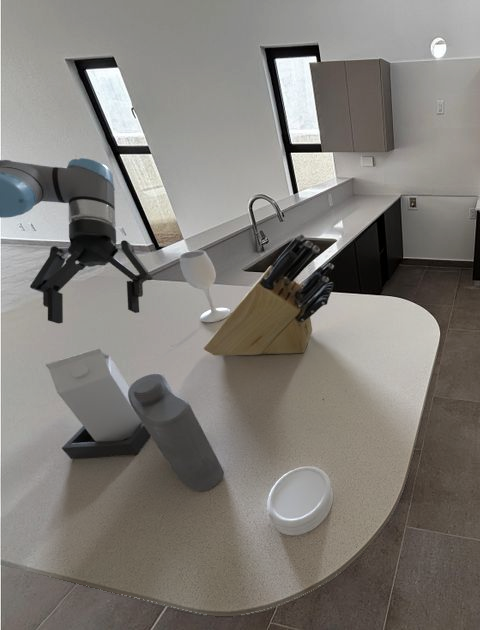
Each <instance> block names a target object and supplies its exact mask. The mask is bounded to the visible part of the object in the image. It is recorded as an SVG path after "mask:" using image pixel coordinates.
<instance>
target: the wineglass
mask: <svg viewBox="0 0 480 630" xmlns="http://www.w3.org/2000/svg"><path fill="white" fill-rule="evenodd" d="M178 259H179V265H180V269H181V273H182V275H183V277H184V280H185V281H186V283H187V284H189V285H190V286H191V287H193V288H195V289H199V290H202V291H203V292H204V294H205V296H206V299H207V301H208V305H209V310H207V311H205V312H204V313H203V314H201V315H200V318H199V320H200V321H201V322H203V323H215V322H220V321H223V320H225V319H227V318H228V317H229V316H230V314H231V310H230V309H229V308H226V307H216V306H215V304H214V301H213V299H212V297H211V294H210V288H211V287H212V286H213V285H214V284H215V281H216V280H217V279H216V278H217V273H216V269H215V267H214V263H213V262H212V260H211V258H210V256H209V255H208V253H207V252H206V251H205V250H201V249H199V250H198V249H197V250H190V251H189V250H188V251H186V252H183V253H181V254H180V255H179V258H178Z"/></svg>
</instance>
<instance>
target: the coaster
mask: <svg viewBox="0 0 480 630" xmlns="http://www.w3.org/2000/svg"><path fill="white" fill-rule="evenodd" d="M333 502H334V492H333V486H332V483H331V479H330V477H329V476H328V474H327V473H326V472H325V471H324V470H322V469H321V468H319V467H316V466H313V465H312V466H311V465H307V466H305V465H304V466H300V467H296V468H294V469H292V470H290V471H288V472H286V473H285V474H283V475H282V476H281V477H280V478H279V479H278V480H277V481H275V483H274V485H273V486H272V488H271V490H270V492H269V495H268V498H267V503H266V508H267V513H268V517H269V518H270V520H271V523H272V525H273V527H274V528H275V529H276V530H277V531H278V532H279V533H281V534H284V535H287V536H292V537H293V536H301V535H305V534H307V533H309V532H311V531H313V530H315V529H316V528H317V527H318V526H319V525H321V524H322V522H324V521H325V519H326V518H327V517H328V515H329V513H330V511H331V509H332V506H333Z"/></svg>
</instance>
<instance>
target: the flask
mask: <svg viewBox="0 0 480 630" xmlns="http://www.w3.org/2000/svg"><path fill="white" fill-rule="evenodd" d="M128 398H129V402H130V404H131V406H132V408H133V409H134V411H135V412H136V414H137V416H138V417H139V419H140V420H141V422H142V423H143V425H144V426H145V428H146V429H147V431H148V433H149V434H150V436H151V437H150V438H151V439H152V440H153V442H154V443H155V446H156V447H157V448H158V449H159V451H160V453H161V454H162V456H163V457H164V459H165V460H166V462H167V464H168V465H169V467H170V468H171V469H172V471H173V473H174V475H175V476H176V477H177V479H179V481H180V482H181V483H182V484H183V485H184V486H186V487H187V488H189V489H190V490H192V491H194V492H205V491H208V490H210V489H212V488H214V487H215V486H217V484H219V483H220V481H222V478H223V477H224V473H225V471H224V469H223V467H222V465H221V462H220V461H219V459H218V457H217V455H216V453H215V451H214V449H213V447H212V445H211V443H210V441H209V440H208V437H207V435H206V433H205V432H204V430H203V427H202V426H201V424H200V422H199V420H198V418H197V416H196V414H195V412H194V411H193V409H192V407H191V404H190V403H189V401H187V400H186V399H183V398H181V397H180V396H178V395H177V394H175V393H174V391H173V389H172V387H171V386H170V384H169V382H168V380H167V378H166V377H165V375H164V374H162V373H151V374H148V375H144V376H142V377H140V378H138V379H136V380H134V382H133V383H131V384H130V386H129V390H128Z"/></svg>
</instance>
